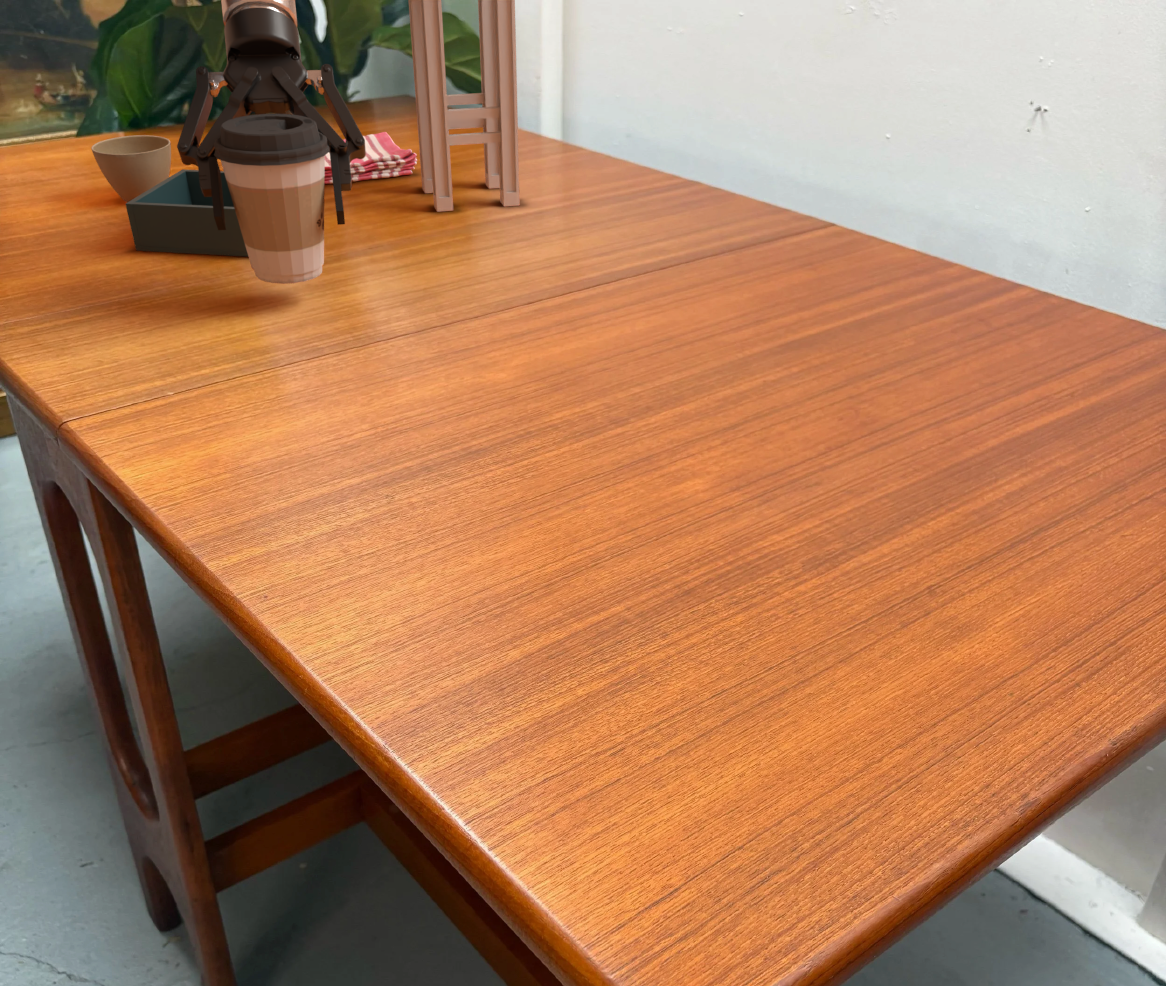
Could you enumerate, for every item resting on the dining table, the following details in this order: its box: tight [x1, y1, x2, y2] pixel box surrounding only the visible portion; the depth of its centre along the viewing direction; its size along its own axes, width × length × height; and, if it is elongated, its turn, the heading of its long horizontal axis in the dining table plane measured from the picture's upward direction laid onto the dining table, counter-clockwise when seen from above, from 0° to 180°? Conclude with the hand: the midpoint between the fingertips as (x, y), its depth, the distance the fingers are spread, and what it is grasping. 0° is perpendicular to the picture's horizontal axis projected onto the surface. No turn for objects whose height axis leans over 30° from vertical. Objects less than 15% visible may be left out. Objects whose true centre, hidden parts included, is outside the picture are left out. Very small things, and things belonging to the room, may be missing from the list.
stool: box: [408, 0, 521, 213], centre depth 142 cm, size 16×16×35 cm
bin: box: [125, 168, 249, 258], centre depth 137 cm, size 16×16×6 cm
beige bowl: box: [90, 134, 172, 203], centre depth 148 cm, size 10×10×7 cm
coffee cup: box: [214, 113, 330, 285], centre depth 113 cm, size 11×11×15 cm
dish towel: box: [324, 131, 418, 185], centre depth 163 cm, size 17×23×4 cm
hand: (280, 220), depth 112 cm, fingers closed on coffee cup, 11 cm apart
